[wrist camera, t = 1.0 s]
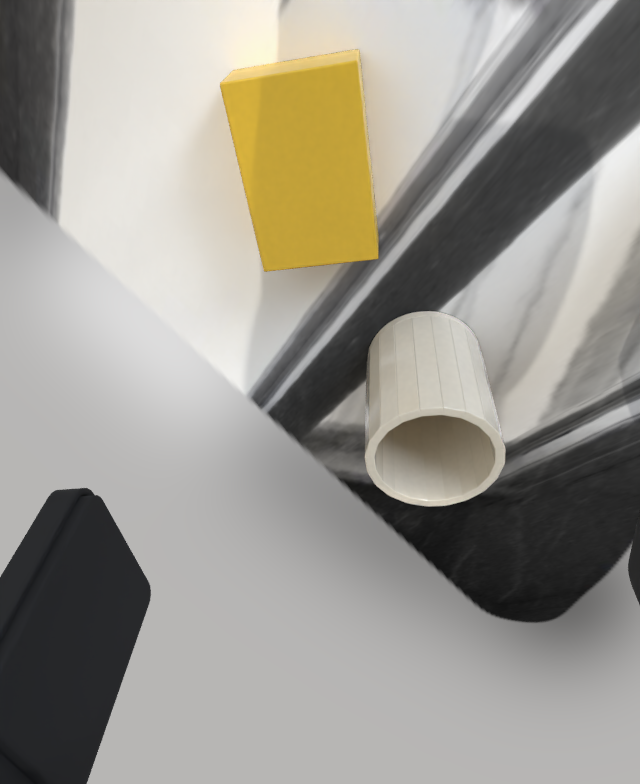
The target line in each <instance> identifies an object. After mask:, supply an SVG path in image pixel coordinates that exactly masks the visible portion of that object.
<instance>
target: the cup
mask: <svg viewBox="0 0 640 784" xmlns="http://www.w3.org/2000/svg"><path fill="white" fill-rule="evenodd" d="M365 463H366V469H367V472H368V474H369V476H370V477H371V479H372V480H373V482H374V483H375V485H376V486H377V487H378V488H380V489H381V490H382V491H384V492H385V493H386V494H387V495H389V496H391V497H393V498H395V499H398V500H400V501H403V502H405V503H409V504H415V505H421V506H447V505H451V504H455V503H459V502H463V501H466V500H468V499H470V498H472V497H474V496H476V495H478V494H480V493H482V492H483V491H485V490H486V489H487V488H488V487H489V486H490V485H491V484H492V483H493V482H494V481H496V479H497V478H498V476H499V474H500V472H501V470H502V468H503V466H504V464H505V444H504V440H503V436H502V432H501V428H500V424H499V420H498V416H497V412H496V408H495V404H494V400H493V395H492V391H491V387H490V383H489V379H488V375H487V371H486V367H485V363H484V359H483V355H482V351H481V349H480V346H479V342H478V340H477V337H476V336H475V334H474V333H473V331H472V330H471V329H470V328H469V327H468V326H467V325H466V324H465V323H464V322H462V321H460V320H459V319H457V318H455V317H453V316H451V315H448V314H445V313H440V312H434V311H420V312H413V313H409V314H406V315H403V316H401V317H398V318H396V319H394V320H392V321H391V322H389V323H388V324H387V325H385V326H384V327H383V328H382V329H381V330H380V331H379V332H378V333H377V335H376V336H375V337H374V339H373V341H372V343H371V345H370V348H369V351H368V360H367V380H366V421H365Z"/></svg>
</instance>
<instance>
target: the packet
mask: <svg viewBox="0 0 640 784" xmlns="http://www.w3.org/2000/svg"><path fill="white" fill-rule="evenodd" d="M220 88H221V92H222V96H223V101H224V105H225V109H226V113H227V117H228V122H229V126H230V130H231V134H232V139H233V143H234V147H235V151H236V155H237V160H238V164H239V168H240V172H241V177H242V181H243V185H244V189H245V193H246V198H247V202H248V206H249V210H250V215H251V219H252V223H253V227H254V231H255V236H256V240H257V244H258V248H259V252H260V257H261V261H262V265H263V269H264V271H265V272H267V271H276V270H284V269H293V268H302V267H311V266H320V265H329V264H338V263H347V262H356V261H365V260H374V259H378V226H377V216H376V207H375V197H374V187H373V177H372V168H371V158H370V148H369V138H368V129H367V119H366V109H365V99H364V90H363V80H362V70H361V60H360V51H359V49H355V50H349V51H343V52H337V53H331V54H325V55H319V56H313V57H308V58H302V59H296V60H290V61H284V62H278V63H272V64H266V65H260V66H254V67H248V68H243V69H237V70H233V71H232V72H231V73H230V74H229V75H228V76H227V77H226V78H225V79H224V80H223V81H222V82H221V83H220Z"/></svg>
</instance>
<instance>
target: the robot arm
mask: <svg viewBox="0 0 640 784" xmlns="http://www.w3.org/2000/svg"><path fill="white" fill-rule="evenodd" d="M628 571H629V577H630V581H631V584H632V587H633V589H634V592H635V595H636V597H637V599H638V602H639V604H640V512H639V516H638V521H637V526H636V530H635V535H634V539H633V544H632V549H631V553H630V558H629V564H628ZM150 596H151V590H150V585H149V582H148V580H147V578H146V577H145V575H144V573H143V571H142V570H141V568H140V566H139V564H138V562H137V561H136V559H135V557H134V555H133V553H132V552H131V550H130V548H129V546H128V545H127V543H126V541H125V539H124V537H123V536H122V534H121V532H120V530H119V528H118V527H117V525H116V523H115V522H114V520H113V518H112V516H111V514H110V512H109V511H108V509H107V507H106V505H105V503H104V502H103V500H102V499H101V497H99V496H97V495H96V496H95V495H94V494H93V492H92V491H91V490H89V489H88V488H80V489H67V490H56V491H54V492H53V493H51V495H50V496H49V497H48V499H47V500H46V502H45V504H44V505H43V507H42V509H41V510H40V512H39V514H38V515H37V517H36V519H35V520H34V522H33V524H32V525H31V527H30V529H29V530H28V532H27V534H26V535H25V537H24V539H23V540H22V542H21V544H20V545H19V547H18V549H17V550H16V552H15V554H14V555H13V557H12V559H11V560H10V562H9V564H8V565H7V567H6V569H5V570H4V572H3V574H2V575H1V577H0V784H86V783H87V781H88V778H89V775H90V772H91V769H92V766H93V764H94V761H95V758H96V755H97V752H98V749H99V746H100V743H101V741H102V738H103V735H104V732H105V729H106V726H107V723H108V720H109V717H110V715H111V712H112V709H113V706H114V703H115V700H116V697H117V694H118V692H119V689H120V686H121V683H122V680H123V677H124V674H125V671H126V668H127V666H128V663H129V660H130V657H131V654H132V651H133V648H134V645H135V643H136V640H137V637H138V634H139V631H140V628H141V625H142V622H143V620H144V617H145V614H146V611H147V608H148V605H149V602H150Z"/></svg>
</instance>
